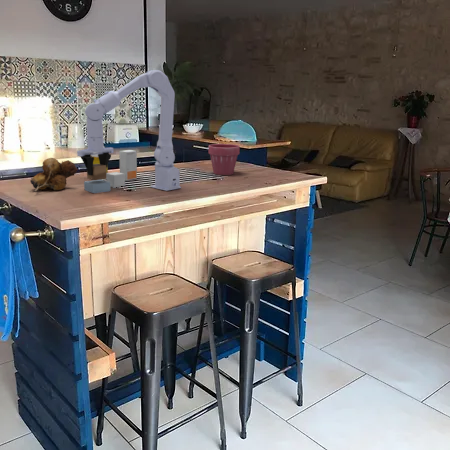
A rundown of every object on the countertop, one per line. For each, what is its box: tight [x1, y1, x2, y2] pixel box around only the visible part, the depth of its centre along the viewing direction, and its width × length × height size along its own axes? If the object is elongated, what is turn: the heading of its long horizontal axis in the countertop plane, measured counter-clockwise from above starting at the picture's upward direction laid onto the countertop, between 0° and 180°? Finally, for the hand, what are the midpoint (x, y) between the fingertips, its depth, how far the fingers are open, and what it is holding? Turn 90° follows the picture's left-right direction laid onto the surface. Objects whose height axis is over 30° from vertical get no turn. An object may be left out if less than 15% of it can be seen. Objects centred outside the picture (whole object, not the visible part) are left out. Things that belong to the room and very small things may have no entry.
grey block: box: [105, 171, 126, 189], centre depth 196 cm, size 5×5×5 cm
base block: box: [83, 179, 111, 194], centre depth 187 cm, size 7×7×4 cm
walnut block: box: [86, 164, 107, 181], centre depth 186 cm, size 5×5×5 cm
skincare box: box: [118, 149, 138, 182], centre depth 208 cm, size 6×4×12 cm
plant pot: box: [207, 143, 241, 176], centre depth 227 cm, size 14×14×13 cm
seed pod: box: [30, 157, 79, 192], centre depth 186 cm, size 13×16×15 cm
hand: (96, 174), depth 186 cm, fingers closed on walnut block, 5 cm apart
